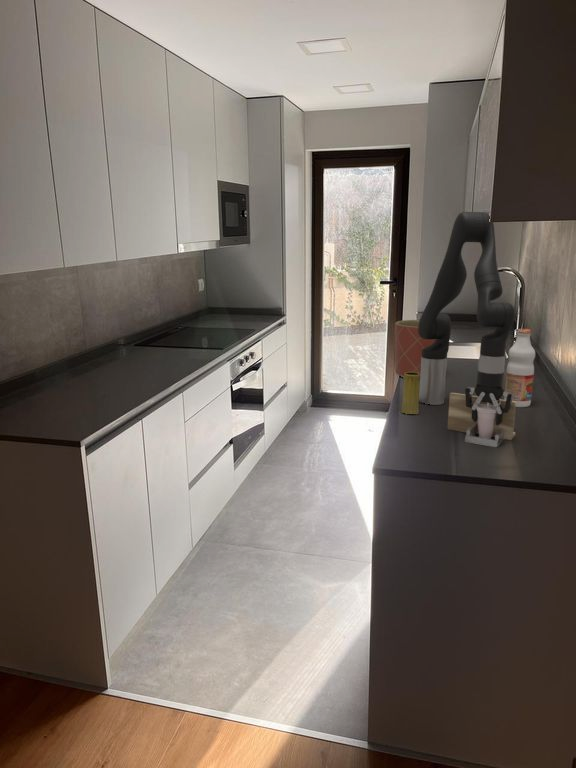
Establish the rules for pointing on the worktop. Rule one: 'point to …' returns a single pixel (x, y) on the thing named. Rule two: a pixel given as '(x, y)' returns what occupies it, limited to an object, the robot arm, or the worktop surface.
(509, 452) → the worktop surface
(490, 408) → the smoothie
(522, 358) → the fruit juice
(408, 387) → the vase
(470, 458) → the worktop surface
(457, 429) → the wall board
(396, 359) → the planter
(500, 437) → the white u-shaped frame
